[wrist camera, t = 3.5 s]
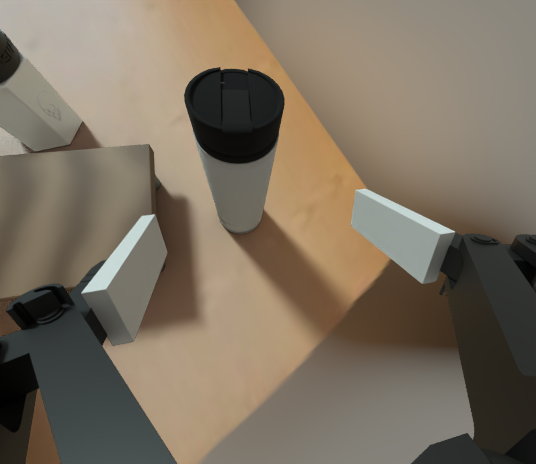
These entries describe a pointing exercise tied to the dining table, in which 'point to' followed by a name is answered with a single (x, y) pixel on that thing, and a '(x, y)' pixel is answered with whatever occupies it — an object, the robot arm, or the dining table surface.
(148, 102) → the dining table surface
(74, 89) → the dining table surface
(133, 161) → the peg shelf
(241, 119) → the travel mug
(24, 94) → the jar
